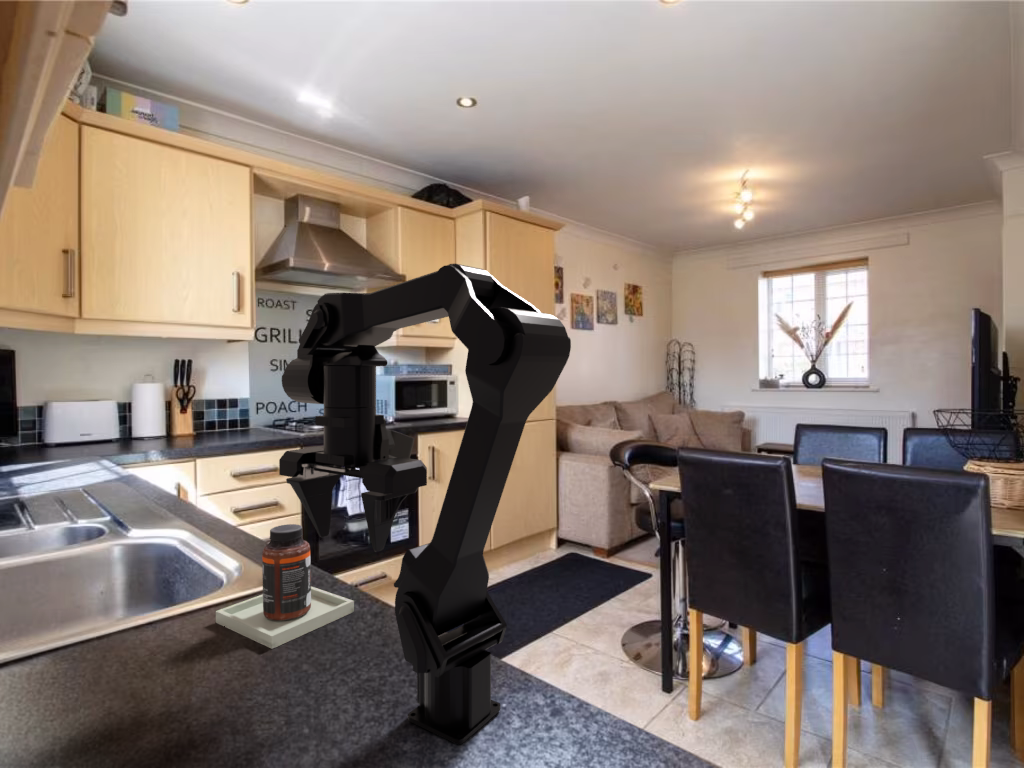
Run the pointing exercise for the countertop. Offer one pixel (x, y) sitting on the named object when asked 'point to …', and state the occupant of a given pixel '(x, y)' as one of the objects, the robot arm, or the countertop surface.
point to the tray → (275, 633)
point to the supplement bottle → (286, 574)
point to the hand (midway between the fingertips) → (350, 543)
